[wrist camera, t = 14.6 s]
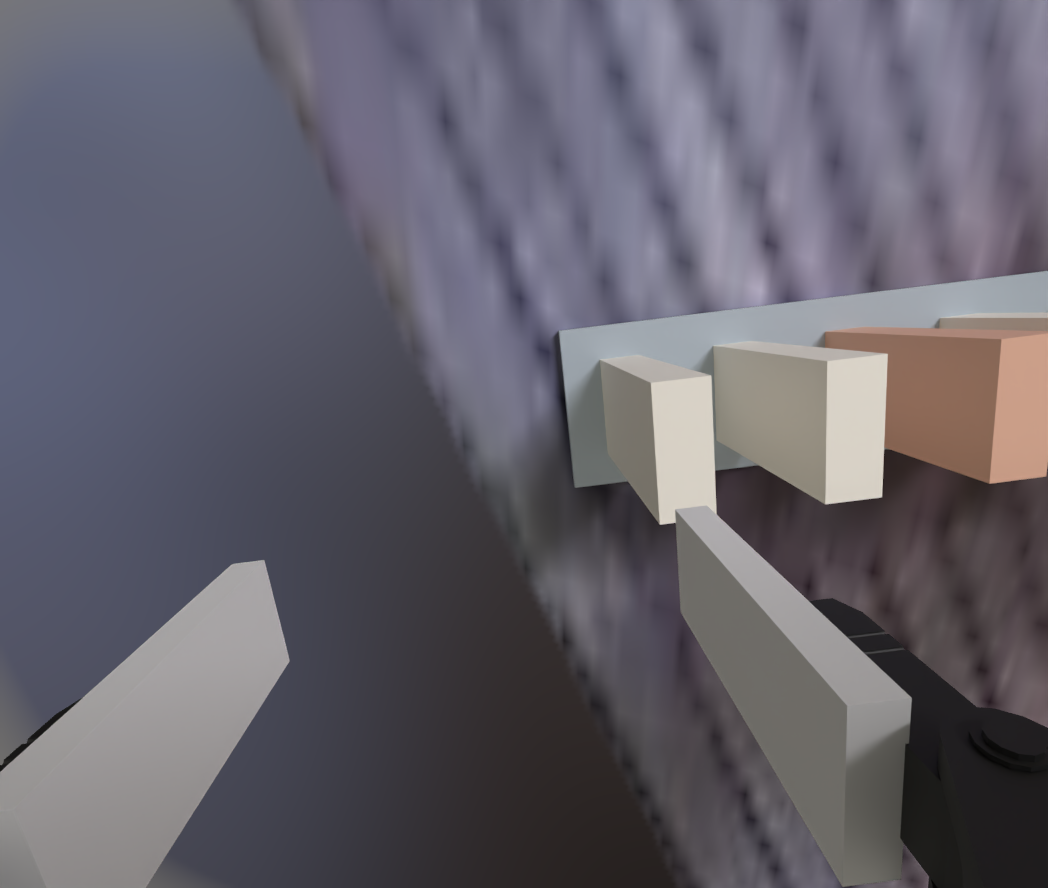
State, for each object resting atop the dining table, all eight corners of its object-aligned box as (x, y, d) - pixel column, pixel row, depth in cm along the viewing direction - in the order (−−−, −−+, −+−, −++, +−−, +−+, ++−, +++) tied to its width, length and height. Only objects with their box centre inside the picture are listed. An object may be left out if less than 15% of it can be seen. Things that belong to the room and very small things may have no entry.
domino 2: (864, 326, 33) (1062, 331, 21) (861, 422, 34) (1046, 476, 22) (825, 331, 33) (1001, 339, 21) (824, 426, 34) (989, 483, 22)
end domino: (638, 354, 33) (711, 375, 21) (645, 449, 34) (716, 517, 22) (599, 359, 33) (650, 382, 21) (607, 453, 34) (659, 524, 22)
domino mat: (1122, 261, 33) (1133, 260, 32) (1101, 420, 35) (1111, 421, 35) (558, 330, 33) (559, 331, 32) (574, 485, 35) (574, 487, 34)
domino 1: (752, 340, 33) (887, 353, 21) (753, 435, 34) (882, 497, 22) (713, 345, 33) (827, 361, 21) (716, 440, 34) (825, 504, 22)
